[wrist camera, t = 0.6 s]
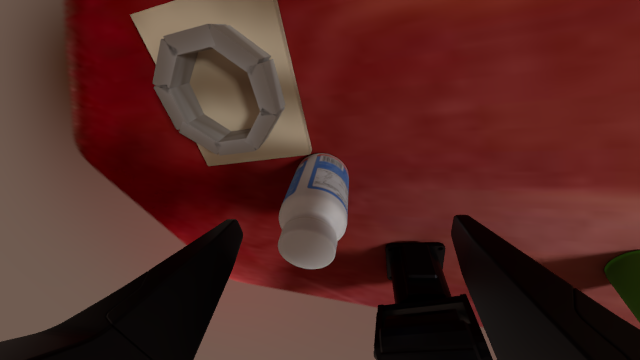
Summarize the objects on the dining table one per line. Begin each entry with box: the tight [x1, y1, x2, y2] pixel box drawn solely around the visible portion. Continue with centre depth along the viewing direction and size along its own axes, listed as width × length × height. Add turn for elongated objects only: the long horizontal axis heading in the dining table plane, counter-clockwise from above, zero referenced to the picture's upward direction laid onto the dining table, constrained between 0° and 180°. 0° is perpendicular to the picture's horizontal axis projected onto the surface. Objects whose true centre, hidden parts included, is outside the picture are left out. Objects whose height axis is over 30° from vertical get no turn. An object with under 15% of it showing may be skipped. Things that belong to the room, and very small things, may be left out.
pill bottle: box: [278, 153, 349, 269], centre depth 19 cm, size 6×5×10 cm
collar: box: [130, 0, 312, 166], centre depth 18 cm, size 13×11×4 cm
